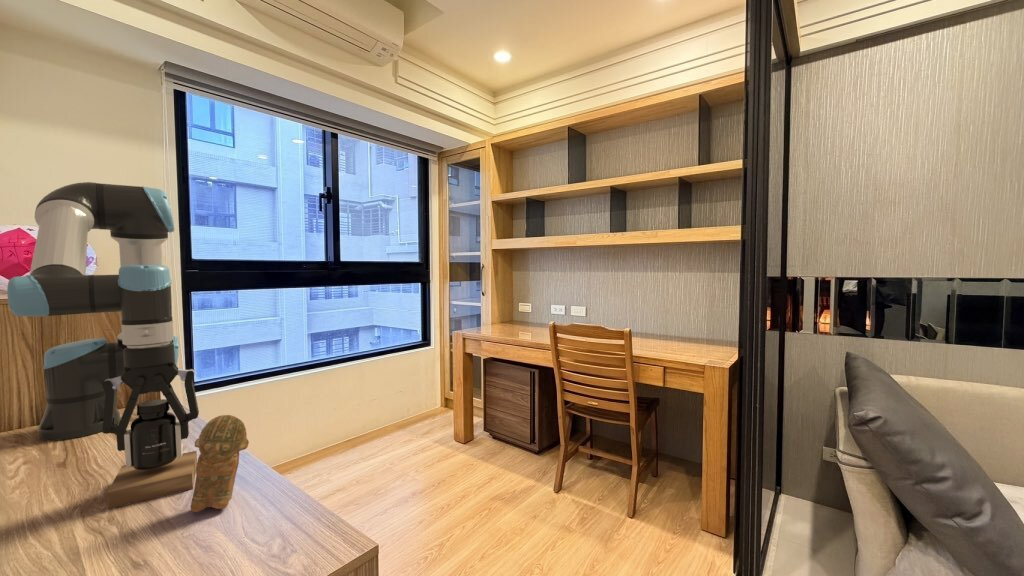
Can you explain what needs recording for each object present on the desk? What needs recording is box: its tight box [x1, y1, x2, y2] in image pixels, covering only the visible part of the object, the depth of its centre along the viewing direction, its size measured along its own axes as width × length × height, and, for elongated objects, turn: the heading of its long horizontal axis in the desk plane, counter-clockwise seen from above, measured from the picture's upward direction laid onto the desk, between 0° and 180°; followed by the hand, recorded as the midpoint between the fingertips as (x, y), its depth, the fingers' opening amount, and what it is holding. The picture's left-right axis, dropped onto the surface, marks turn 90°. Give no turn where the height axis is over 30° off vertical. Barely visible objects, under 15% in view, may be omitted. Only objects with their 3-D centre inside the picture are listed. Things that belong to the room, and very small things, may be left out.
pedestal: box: [106, 450, 198, 510], centre depth 83 cm, size 12×12×3 cm
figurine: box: [190, 414, 250, 513], centre depth 76 cm, size 8×8×15 cm
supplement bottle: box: [130, 398, 177, 470], centre depth 82 cm, size 7×7×12 cm
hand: (155, 459), depth 83 cm, fingers closed on supplement bottle, 7 cm apart
